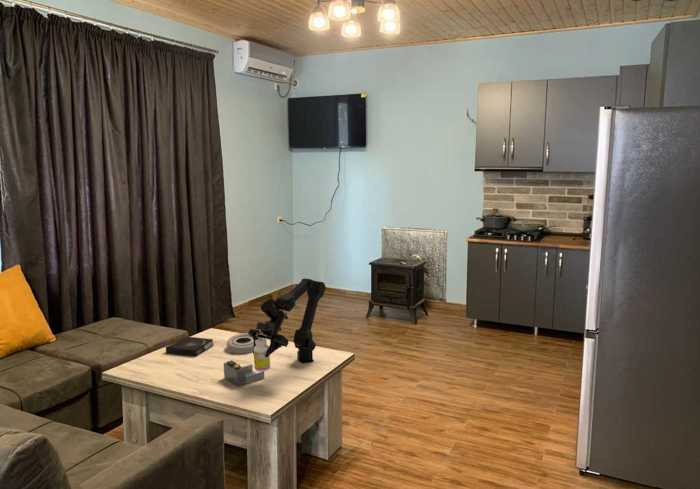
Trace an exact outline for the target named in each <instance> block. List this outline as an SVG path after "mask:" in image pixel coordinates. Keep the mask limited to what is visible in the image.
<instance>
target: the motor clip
mask: <svg viewBox="0 0 700 489" xmlns="http://www.w3.org/2000/svg"><path fill="white" fill-rule="evenodd" d="M223 377H224V379H225V380H226V381H228V382H230V383H231V384H232V385H234V386H235V387H241V386H245V385H246V384H251V383H253V382H257V381H260V380H263V379H265V371H263V372H259V371H258V372H255V371H254V370H253V364H248V365H246V366H244V365H243V366H241V364H239V363H237V362H236V361H234V360H228V361H226V362H223Z"/></svg>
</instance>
